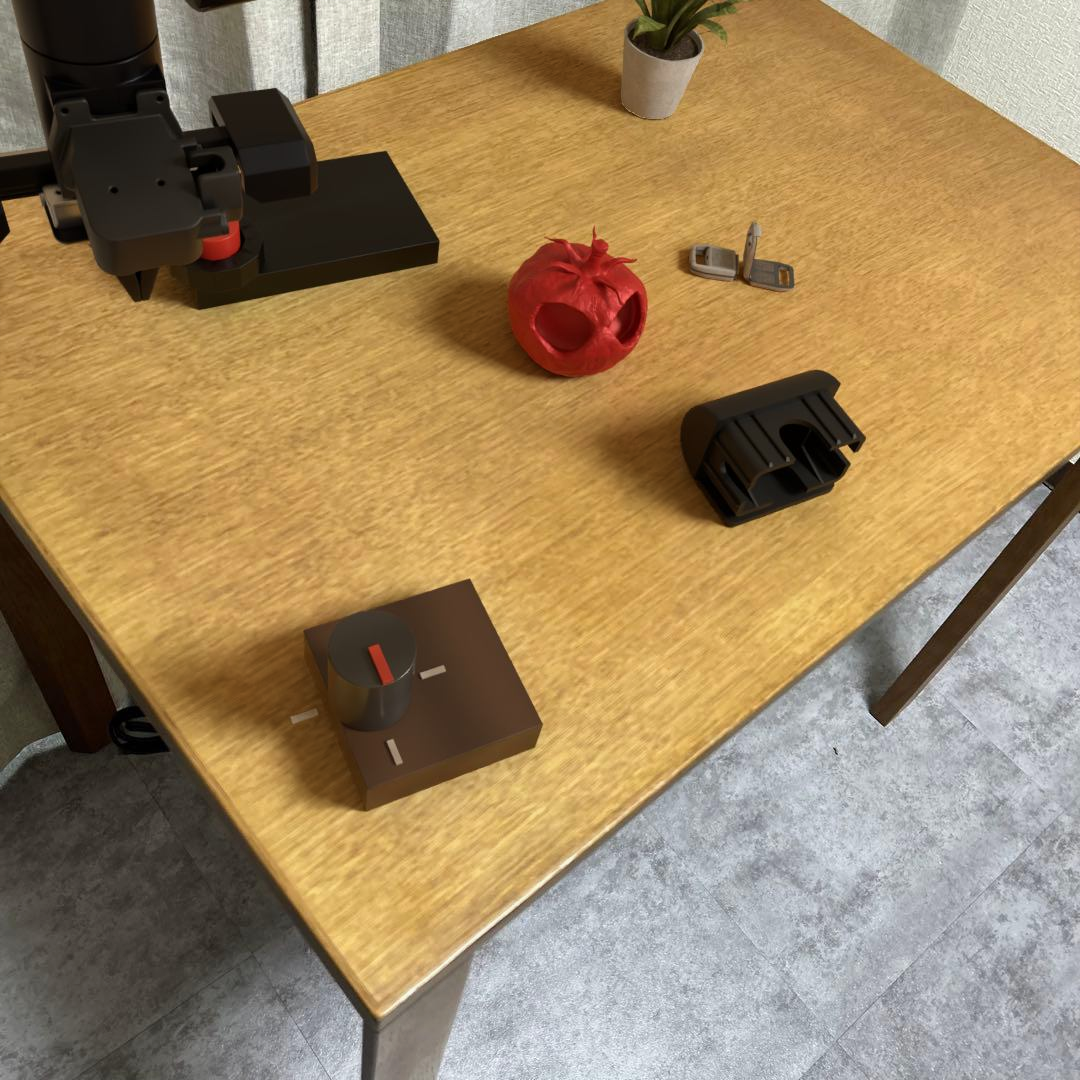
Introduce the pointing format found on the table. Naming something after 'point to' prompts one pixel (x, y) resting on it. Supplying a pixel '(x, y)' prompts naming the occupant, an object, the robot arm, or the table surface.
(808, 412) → the end cap
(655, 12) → the house plant
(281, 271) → the black rectangular slab
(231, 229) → the button
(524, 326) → the red hollow tomato
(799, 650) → the table surface
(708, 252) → the strap clip
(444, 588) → the knob panel
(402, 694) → the dial knob
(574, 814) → the table surface
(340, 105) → the table surface
